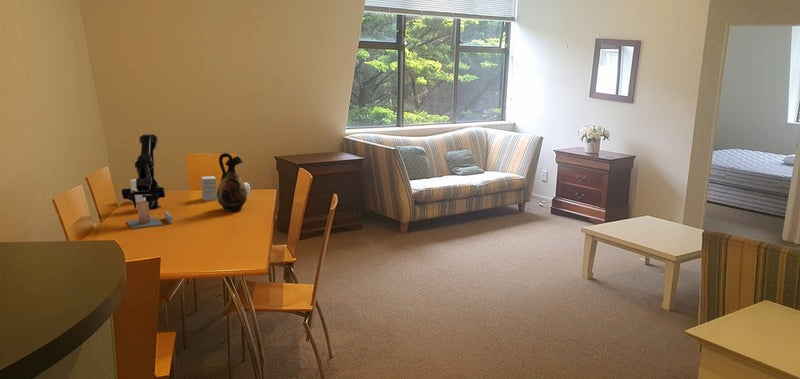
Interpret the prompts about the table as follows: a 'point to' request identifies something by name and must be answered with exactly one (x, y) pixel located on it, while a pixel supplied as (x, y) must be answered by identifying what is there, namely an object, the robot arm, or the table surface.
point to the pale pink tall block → (143, 212)
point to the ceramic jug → (231, 185)
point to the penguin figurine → (247, 188)
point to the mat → (135, 224)
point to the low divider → (168, 217)
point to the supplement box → (209, 188)
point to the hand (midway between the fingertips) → (143, 208)
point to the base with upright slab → (133, 187)
